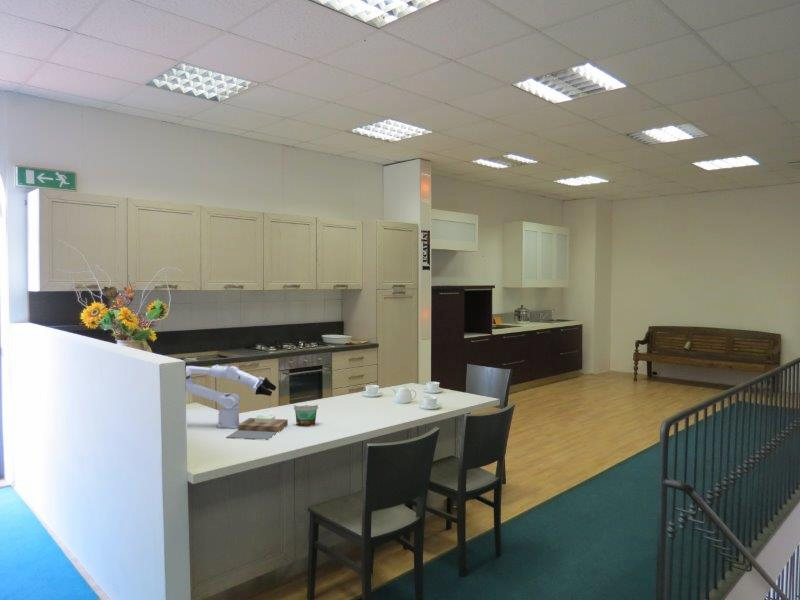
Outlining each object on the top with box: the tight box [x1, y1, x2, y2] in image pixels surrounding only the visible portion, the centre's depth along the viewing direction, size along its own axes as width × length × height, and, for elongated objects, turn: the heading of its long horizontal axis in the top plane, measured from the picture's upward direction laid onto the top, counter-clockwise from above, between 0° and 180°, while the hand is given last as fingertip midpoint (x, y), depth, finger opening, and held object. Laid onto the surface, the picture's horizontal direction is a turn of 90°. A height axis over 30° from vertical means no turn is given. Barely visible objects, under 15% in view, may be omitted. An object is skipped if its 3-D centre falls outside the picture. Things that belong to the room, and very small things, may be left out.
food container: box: [293, 404, 319, 427], centre depth 281 cm, size 12×6×10 cm, turn 101°
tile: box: [254, 415, 276, 423], centre depth 277 cm, size 8×6×2 cm
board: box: [237, 417, 288, 433], centre depth 275 cm, size 20×14×3 cm
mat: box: [226, 429, 278, 441], centre depth 262 cm, size 20×12×1 cm, turn 82°
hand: (273, 391), depth 279 cm, fingers open, 7 cm apart
